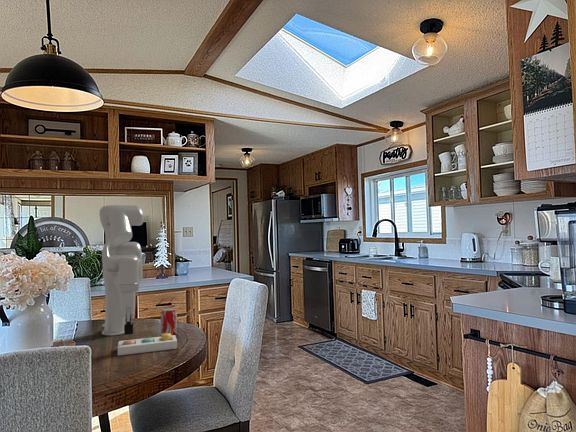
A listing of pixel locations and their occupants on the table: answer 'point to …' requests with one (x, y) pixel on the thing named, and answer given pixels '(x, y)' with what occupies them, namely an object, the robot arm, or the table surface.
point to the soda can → (169, 321)
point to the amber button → (165, 336)
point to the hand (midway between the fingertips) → (128, 333)
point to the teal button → (147, 340)
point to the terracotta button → (129, 342)
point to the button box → (147, 345)
